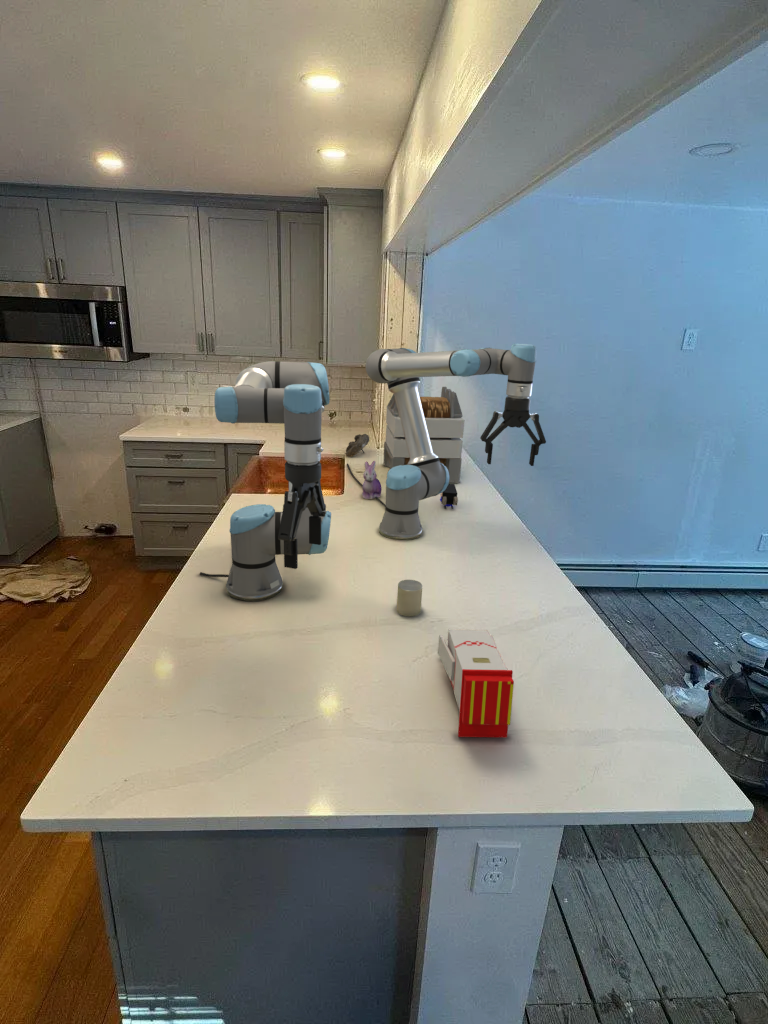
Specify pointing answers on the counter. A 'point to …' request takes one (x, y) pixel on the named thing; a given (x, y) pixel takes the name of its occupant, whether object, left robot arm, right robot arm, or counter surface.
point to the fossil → (357, 445)
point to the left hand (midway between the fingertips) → (303, 555)
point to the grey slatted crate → (429, 432)
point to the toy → (478, 682)
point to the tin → (409, 598)
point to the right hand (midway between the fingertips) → (510, 464)
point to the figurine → (371, 482)
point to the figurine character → (449, 496)
